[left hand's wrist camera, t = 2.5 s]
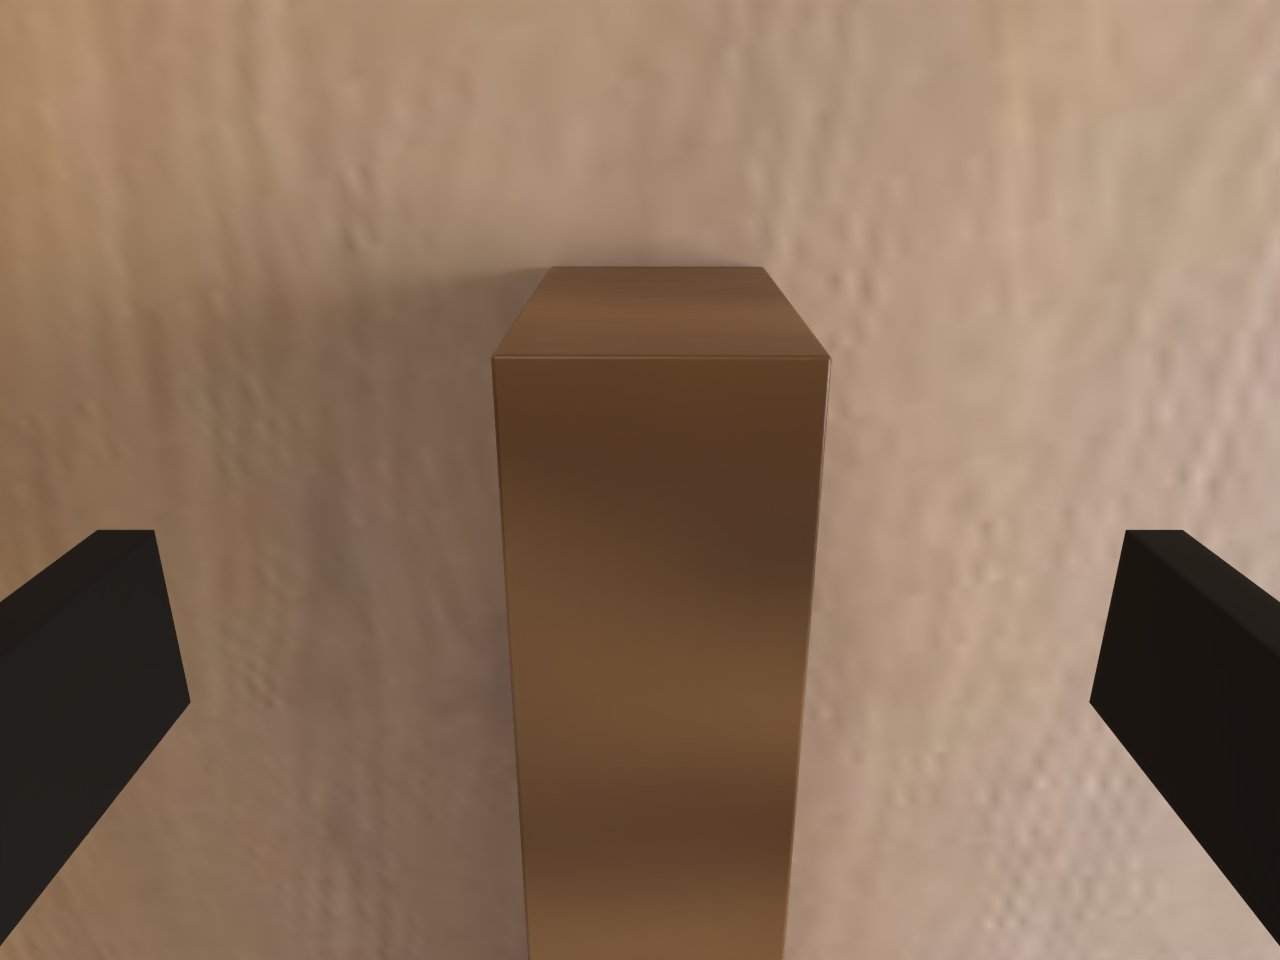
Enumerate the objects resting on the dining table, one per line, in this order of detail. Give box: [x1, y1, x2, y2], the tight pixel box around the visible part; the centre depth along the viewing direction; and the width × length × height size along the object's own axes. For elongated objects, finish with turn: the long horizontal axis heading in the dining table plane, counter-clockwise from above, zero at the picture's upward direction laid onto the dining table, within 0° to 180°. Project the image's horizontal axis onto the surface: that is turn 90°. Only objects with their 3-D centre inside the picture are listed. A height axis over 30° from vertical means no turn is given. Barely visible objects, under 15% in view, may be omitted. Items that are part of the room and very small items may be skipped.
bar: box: [491, 267, 832, 960], centre depth 21 cm, size 26×5×8 cm, turn 0°
